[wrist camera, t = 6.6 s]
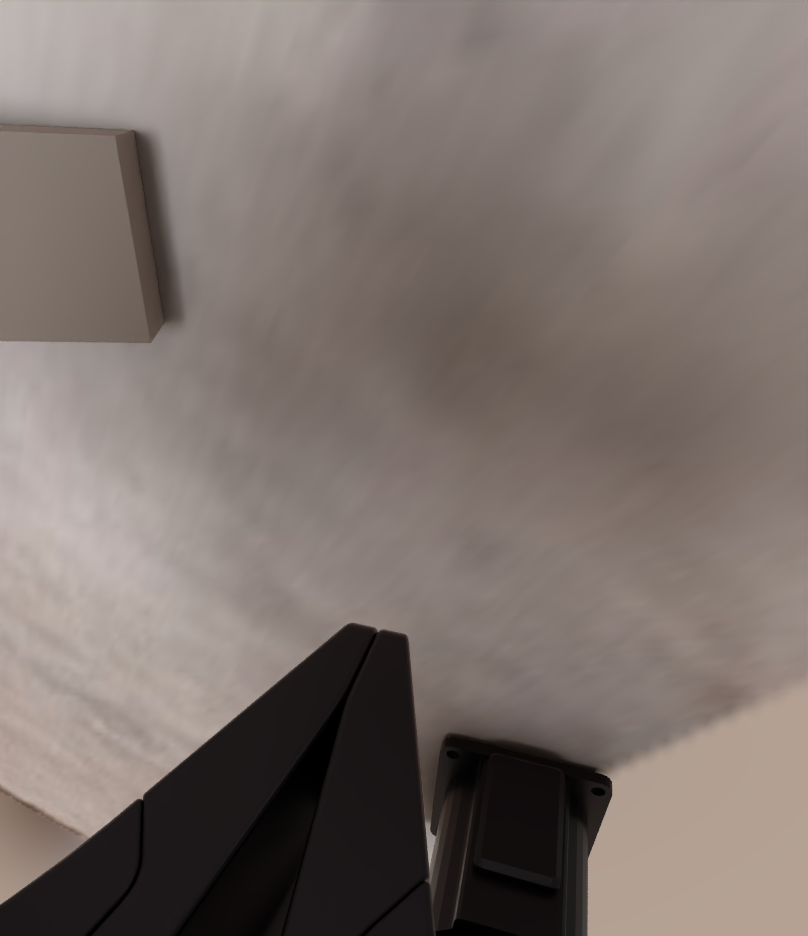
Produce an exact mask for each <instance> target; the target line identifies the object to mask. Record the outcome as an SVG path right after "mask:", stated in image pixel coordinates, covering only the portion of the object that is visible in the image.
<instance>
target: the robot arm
mask: <svg viewBox="0 0 808 936" xmlns="http://www.w3.org/2000/svg"><path fill="white" fill-rule="evenodd" d="M611 797H612V781H611V780H610V778H608V777H607V776H605V775H602V774H599V773H595V772H591V771H587V770H583V769H579V768H575V767H571V766H567V765H563V764H559V763H555V762H550V761H546V760H542V759H538V758H534V757H530V756H526V755H522V754H518V753H514V752H510V751H506V750H502V749H498V748H494V747H490V746H486V745H482V744H478V743H474V742H470V741H466V740H462V739H458V738H452V737H450V738H446V739H444V740H443V742H442V746H441V750H440V757H439V765H438V773H437V781H436V789H435V796H434V804H433V812H432V820H431V828H430V830H431V832H432V834H433V835H435V836H436V839H435V844H434V849H433V854H432V859H431V864H430V869H429V862H428V851H427V839H426V828H425V817H424V806H423V795H422V784H421V773H420V762H419V751H418V740H417V729H416V718H415V707H414V695H413V684H412V673H411V662H410V651H409V641H408V637H407V635H405V634H402V633H398V632H393V631H388V630H380V631H379V632H378V631H377V629H376V628H374V627H370V626H365V625H361V624H356V623H350V624H347V625H346V626H344V627H343V628H342V629H341V630H340V631H338V632H337V633H336V634H335V635H334V636H332V637H331V638H330V639H329V640H328V641H326V642H325V643H324V644H323V645H322V646H320V647H319V648H318V649H317V650H316V651H314V652H313V653H312V654H311V655H310V656H308V657H307V658H306V659H305V660H304V661H302V662H301V663H300V664H299V665H298V666H296V667H295V668H294V669H293V670H292V671H290V672H289V673H288V674H287V675H286V676H284V677H283V678H282V679H281V680H280V681H278V682H277V683H276V684H275V685H274V686H273V687H271V688H270V689H269V690H268V691H267V692H265V693H264V694H263V695H262V696H261V697H259V698H258V699H257V700H256V701H255V702H253V703H252V704H251V705H250V706H249V707H247V708H246V709H245V710H244V711H243V712H241V713H240V714H239V715H238V716H237V717H235V718H234V719H233V720H232V721H231V722H229V723H228V724H227V725H226V726H225V727H223V728H222V729H221V730H220V731H219V732H217V733H216V734H215V735H214V736H213V737H212V738H210V739H209V740H208V741H207V742H206V743H204V744H203V745H202V746H201V747H200V748H198V749H197V750H196V751H195V752H194V753H192V754H191V755H190V756H189V757H188V758H186V759H185V760H184V761H183V762H182V763H180V764H179V765H178V766H177V767H176V768H174V769H173V770H172V771H171V772H170V773H168V774H167V775H166V776H165V777H164V778H162V779H161V780H160V781H159V782H158V783H156V784H155V785H154V786H153V787H152V788H150V789H149V790H148V791H147V792H146V793H145V794H144V796H143V800H142V799H137V800H136V801H134V802H133V803H132V804H131V805H130V806H129V807H127V808H126V809H125V810H124V811H123V812H121V813H120V814H119V815H118V816H117V817H115V818H114V819H113V820H112V821H111V822H109V823H108V824H107V825H106V826H104V827H103V828H102V829H101V830H99V831H98V832H97V833H96V834H94V835H93V836H92V837H91V838H89V839H88V840H87V841H86V842H84V843H83V844H82V845H81V846H79V847H78V848H77V849H76V850H75V851H73V852H72V853H71V854H69V855H68V856H67V857H65V858H64V859H63V860H61V861H60V862H59V863H57V864H56V865H55V866H53V867H52V868H51V869H49V870H48V871H46V872H45V873H44V874H42V875H41V876H40V877H38V878H37V879H36V880H34V881H33V882H31V883H30V884H28V885H27V886H26V887H25V888H23V889H22V890H20V891H19V892H18V893H16V894H15V895H13V896H12V897H11V898H9V899H8V900H6V901H5V902H3V903H2V904H1V905H0V936H587V914H588V913H587V912H588V910H587V907H588V906H587V905H588V902H587V901H588V899H587V898H588V896H587V895H588V892H587V891H588V857H589V854H590V851H591V849H592V846H593V844H594V841H595V839H596V836H597V833H598V831H599V828H600V826H601V823H602V820H603V817H604V815H605V813H606V810H607V807H608V805H609V802H610V800H611Z"/></svg>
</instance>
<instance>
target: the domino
mask: <svg viewBox="0 0 808 936" xmlns="http://www.w3.org/2000/svg"><path fill="white" fill-rule="evenodd" d="M163 324H164V318H163V312H162V306H161V299H160V293H159V287H158V280H157V274H156V268H155V261H154V255H153V249H152V242H151V236H150V230H149V223H148V217H147V211H146V204H145V198H144V192H143V185H142V179H141V173H140V166H139V160H138V154H137V147H136V141H135V135H134V130H116V129H93V128H70V127H47V126H24V125H0V341H41V342H126V343H151V342H152V340H153V339H154V337H155V336H156V334H157V333H158V331H159V330H160V328H161V327H162V325H163Z"/></svg>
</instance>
